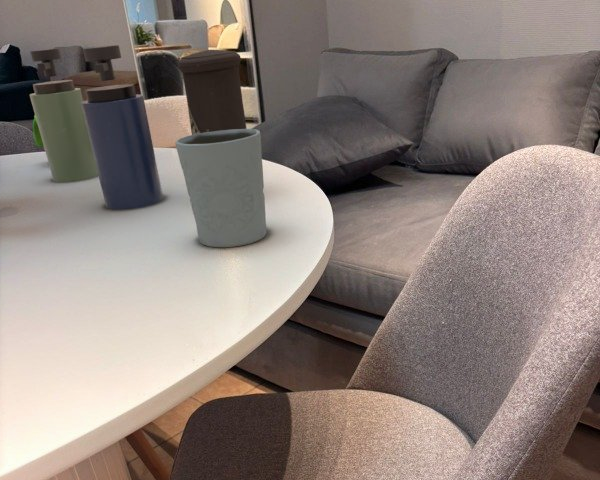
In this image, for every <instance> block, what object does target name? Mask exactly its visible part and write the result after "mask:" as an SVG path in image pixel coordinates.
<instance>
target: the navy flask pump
mask: <svg viewBox="0 0 600 480" xmlns="http://www.w3.org/2000/svg"><path fill="white" fill-rule="evenodd" d="M120 49H121V48H120V45H119V44H116V45H115V44H113V45H104V46H95V47H86V48H82V51H83V55H84V60H85V62H87V63H89V62H92V63H93V62H96V63H95V64H93V68H94V71H95V73H96V74H99V77H100V81H101V82H105V81H113V80H115V79H116V78H115V77H116V76H115V72H114V67H113V62H112V60H117V59H118V60H119V59H121V58H122V55H121V50H120Z"/></svg>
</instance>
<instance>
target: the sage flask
mask: <svg viewBox="0 0 600 480" xmlns="http://www.w3.org/2000/svg"><path fill="white" fill-rule="evenodd" d="M32 87H33V91H34V93H30V94H29V98H30V102H31V105H32V110H33V112H34V115H35V116H36V120H37V123H38V127H39V131H40V134H41V138H42V141H43V145H44V147H43V148H44V152H45V156H46V159H47V163H48V166H49V170H50V173H51V178H52V180H53V182H56V183H71V182H79V181H85V180H89V179H93V178H96V177H99V175H98V171H97V167H96V163H95V159H94V155H93V151H92V147H91V142H90V138H89V134H88V130H87V126H86V122H85V118H84V114H83V109H82V105H81V102H83V101H84V96H83V93H82V89H81V88H80V87H76V86H75V84H74V80H73V79H62V80H53V81H52V80H51V81H44V82H37V83H33V84H32Z"/></svg>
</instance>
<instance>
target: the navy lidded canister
mask: <svg viewBox="0 0 600 480" xmlns="http://www.w3.org/2000/svg"><path fill="white" fill-rule="evenodd" d="M84 92H85V95H86V100H83V102H81V105H82V109H83V114H84V118H85V122H86V126H87V130H88V134H89V138H90V142H91V147H92V151H93V155H94V159H95V163H96V167H97V171H98V179H99V183H100V187H101V191H102V197H103V200H104V204H105V207H106V209H109V210H114V211H115V210H116V211H125V210H135V209H136V210H137V209H141V208H145V207H149V206H152V205H156V204H158V203H160V202H162V201H163V199H164V196H163V191H162V187H161V186H162V185H161V180H160V175H159V169H158V165H157V159H156V154H155V149H154V143H153V139H152V134H151V129H150V123H149V118H148V114H147V107H146V103H145V97H144V95H143V94H139V93H138V94H137V92H136V87H135V85H134V83H133V84H132V83H127V84H126V83H125V84H115V85H113V84H112V85H106V86H105V85H104V86H98V87H92V88H88V89H85V90H84Z"/></svg>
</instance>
